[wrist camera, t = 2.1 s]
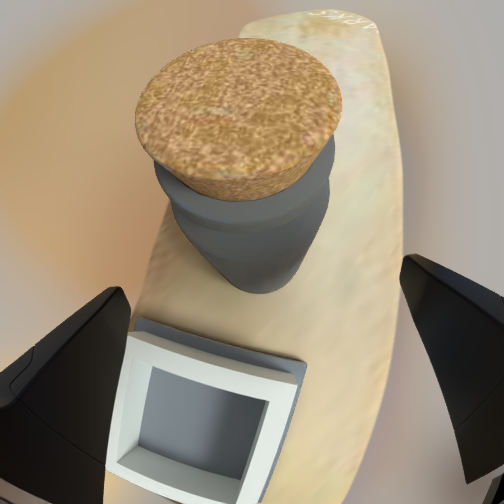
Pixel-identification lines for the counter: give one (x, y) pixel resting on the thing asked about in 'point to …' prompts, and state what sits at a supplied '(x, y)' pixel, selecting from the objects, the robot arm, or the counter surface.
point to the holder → (200, 416)
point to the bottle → (244, 153)
